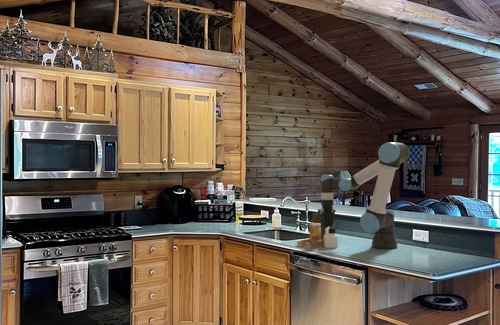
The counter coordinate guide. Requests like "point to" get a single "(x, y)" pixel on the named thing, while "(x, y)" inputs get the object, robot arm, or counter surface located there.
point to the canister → (318, 220)
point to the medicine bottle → (330, 238)
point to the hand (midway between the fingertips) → (327, 236)
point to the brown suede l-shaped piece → (313, 237)
